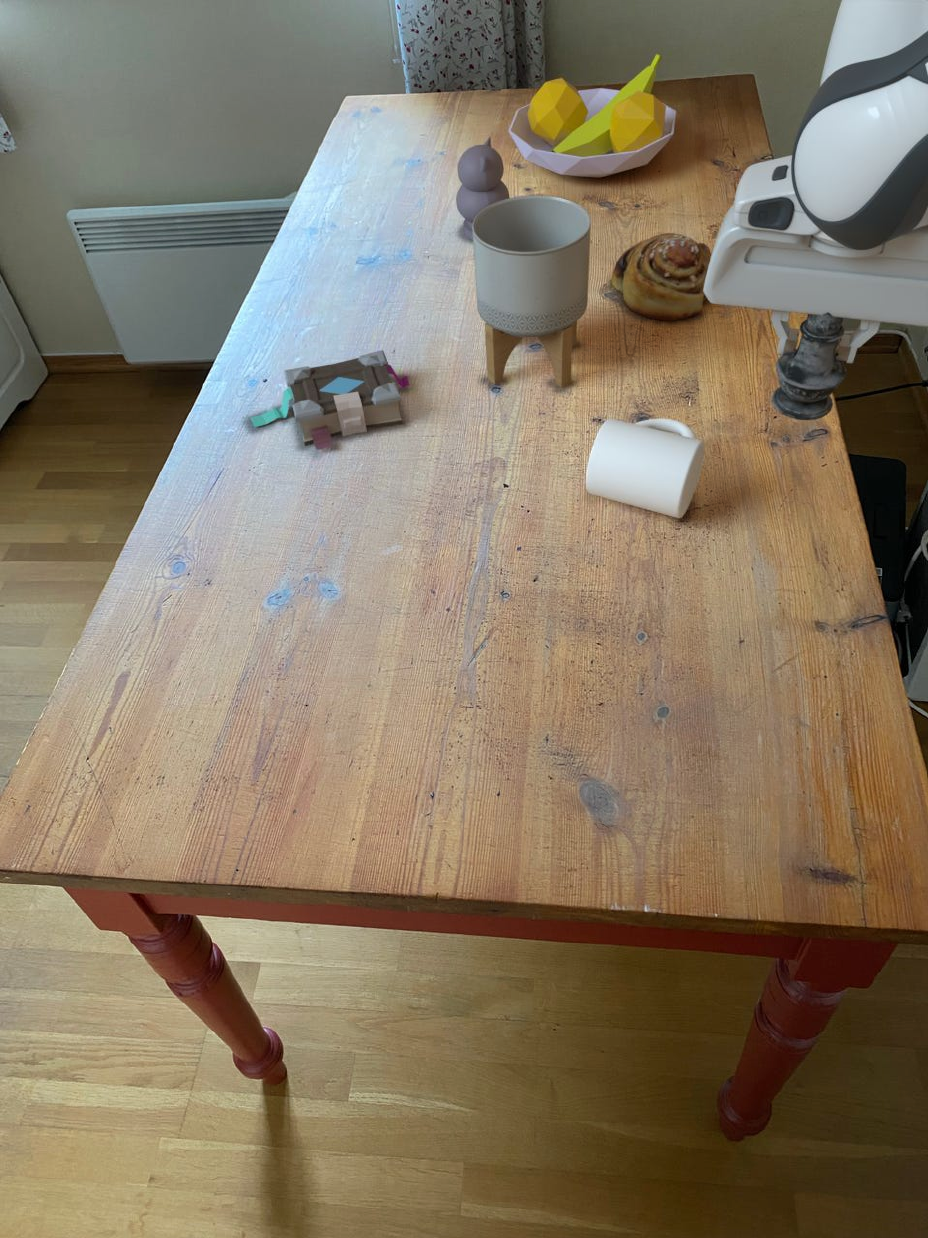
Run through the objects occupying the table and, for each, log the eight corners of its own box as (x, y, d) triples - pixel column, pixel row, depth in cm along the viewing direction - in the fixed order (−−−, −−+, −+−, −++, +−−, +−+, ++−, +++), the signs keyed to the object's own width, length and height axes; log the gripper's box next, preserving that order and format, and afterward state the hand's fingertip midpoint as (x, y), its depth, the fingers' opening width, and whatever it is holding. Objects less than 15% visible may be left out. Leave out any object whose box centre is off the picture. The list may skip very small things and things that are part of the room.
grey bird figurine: (460, 217, 136) (454, 134, 127) (512, 215, 135) (509, 132, 126) (455, 245, 131) (449, 160, 122) (509, 244, 130) (506, 159, 121)
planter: (540, 321, 117) (540, 183, 103) (606, 364, 109) (615, 223, 96) (460, 359, 112) (449, 221, 99) (524, 407, 105) (521, 265, 92)
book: (259, 468, 101) (248, 432, 97) (247, 406, 109) (237, 371, 105) (428, 429, 104) (423, 393, 100) (404, 371, 111) (400, 336, 108)
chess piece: (838, 387, 81) (877, 263, 72) (833, 426, 78) (873, 301, 68) (771, 378, 83) (801, 255, 73) (764, 416, 79) (794, 292, 70)
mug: (675, 534, 90) (685, 474, 84) (583, 508, 94) (586, 448, 87) (710, 462, 97) (721, 402, 91) (623, 440, 100) (628, 380, 94)
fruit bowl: (561, 212, 135) (562, 133, 126) (484, 147, 152) (481, 74, 143) (716, 166, 141) (728, 88, 133) (627, 109, 158) (632, 37, 149)
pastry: (653, 330, 114) (659, 271, 107) (594, 277, 123) (597, 220, 116) (740, 301, 116) (751, 242, 110) (677, 252, 125) (684, 195, 119)
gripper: (1009, 185, 65) (943, 349, 76) (725, 165, 70) (701, 321, 81) (1014, 227, 62) (944, 393, 72) (714, 202, 67) (690, 361, 77)
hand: (813, 355), depth 77 cm, fingers closed on chess piece, 3 cm apart
